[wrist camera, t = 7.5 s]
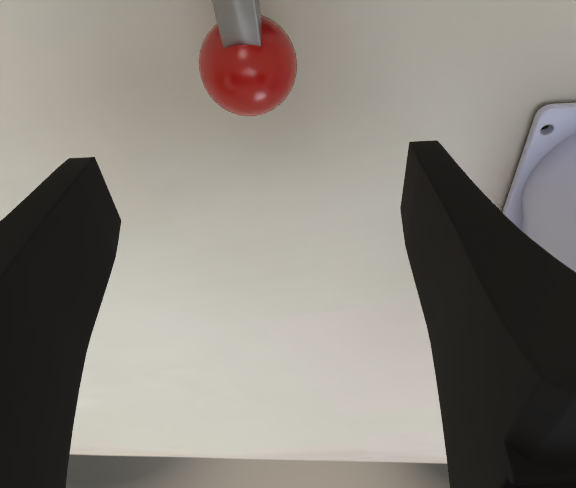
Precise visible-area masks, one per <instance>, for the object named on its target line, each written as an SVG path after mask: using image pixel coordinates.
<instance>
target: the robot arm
mask: <svg viewBox="0 0 576 488" xmlns="http://www.w3.org/2000/svg"><path fill="white" fill-rule="evenodd" d="M549 124H550V125H549ZM545 125H549V127H547V128H546V129H543V130H541V128H542V127H544V126H545ZM401 216H402V224H403V232H404V239H405V246H406V250H407V254H408V258H409V261H410V265H411V269H412V273H413V276H414V280H415V284H416V288H417V291H418V295H419V299H420V302H421V306H422V310H423V313H424V317H425V321H426V324H427V329H428V333H429V338H430V342H431V348H432V355H433V361H434V368H435V374H436V380H437V387H438V394H439V401H440V408H441V415H442V423H443V431H444V439H445V447H446V455H447V463H448V472H449V481H450V488H576V103H557V104H548V105H545V106H543V107H542V108H540V109H539V110H538V111H537V113H536V115H535V117H534V120H533V123H532V126H531V129H530V132H529V135H528V138H527V141H526V144H525V147H524V150H523V153H522V156H521V159H520V162H519V165H518V168H517V170H516V173H515V176H514V179H513V182H512V185H511V188H510V191H509V194H508V197H507V200H506V203H505V206H504V209H503V212H501V211H500V210H499V209H498V208H497V207H496V206H495V205H494V204H493V203H492V202H491V201H490V200H489V199H488V198H487V197H486V195H485V194H484V193H483V192H482V191H481V190H480V189H479V188H478V187H477V186H476V185H475V184H474V183H473V182H472V180H471V179H470V178H469V177H468V176H467V175H466V174H465V172H464V171H463V170H462V169H461V168H460V167H459V165H458V164H457V163H456V162H455V161H454V160H453V158H452V157H451V156H450V155H449V154H448V152H447V151H446V150H445V149H444V148H443V146H442V145H441V144H440V143H439V142H438V141H418V142H409V149H408V157H407V164H406V172H405V179H404V187H403V194H402V201H401ZM120 225H121V219H120V217H119V214H118V212H117V209H116V207H115V205H114V202H113V200H112V197H111V195H110V193H109V190H108V188H107V186H106V183H105V181H104V178H103V176H102V174H101V171H100V169H99V166H98V164H97V162H96V159H95V157H88V158H69V159H68V160H67V161H65V162H64V163H63V164H62V165H61V166H59V167H58V168H57V169H56V170H55V171H54V172H53V173H52V174H51V175H50V176H49V177H48V178H46V179H45V180H44V181H43V182H42V183H41V184H40V185H39V186H38V187H37V188H36V189H35V190H34V191H33V192H32V193H31V194H30V195H29V196H27V197H26V198H25V199H24V200H23V201H22V202H21V203H20V204H19V205H18V206H17V207H16V208H15V209H14V210H12V211H11V212H10V213H9V214H8V215H7V216H6V217H5V218H4V219H3V220H1V221H0V488H65V487H66V478H67V467H68V460H69V453H70V445H71V438H72V430H73V423H74V417H75V411H76V405H77V399H78V393H79V387H80V382H81V377H82V372H83V367H84V362H85V357H86V352H87V348H88V345H89V341H90V337H91V334H92V331H93V327H94V324H95V321H96V318H97V315H98V312H99V309H100V305H101V302H102V299H103V296H104V293H105V290H106V287H107V283H108V280H109V277H110V274H111V270H112V267H113V264H114V260H115V257H116V251H117V245H118V239H119V232H120Z"/></svg>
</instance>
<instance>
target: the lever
mask: <svg viewBox="0 0 576 488" xmlns="http://www.w3.org/2000/svg"><path fill="white" fill-rule="evenodd" d="M212 2H213V6H214V10H215V15H216V19H217V24H216V25H215V26H214V27H213V28H212V29H211V30H210V32H209V33H208V34H207V36H206V38H205V40H204V42H203V44H202V47H201V50H200V57H199V70H200V75H201V79H202V82H203V85H204V87H205V89H206V91H207V92H208V94H209V95H210V97H211V98H212V99H213V100H214V101H215V102H216V103H217V104H218V105H219V106H221V107H222V108H223V109H225V110H227V111H229V112H231V113H234V114H237V115H242V116H256V115H261V114H264V113H267V112H269V111H271V110H273V109H274V108H276V107H277V106H279V105H280V104H281V103H282V102H283V101H284V100H285V98H286V97H287V96H288V94H289V93H290V91H291V89H292V87H293V84H294V82H295V77H296V72H297V60H296V53H295V50H294V47H293V44H292V42H291V40H290V38H289V37H288V35H287V34H286V33H285V31H284V30H283V29H282V28H281V27H280V26H279V25H278V24H277V23H275V22H274V21H273V20H271V19H269V18H267V17H265V16H262V15H261V11H260V4H259V0H212Z"/></svg>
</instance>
